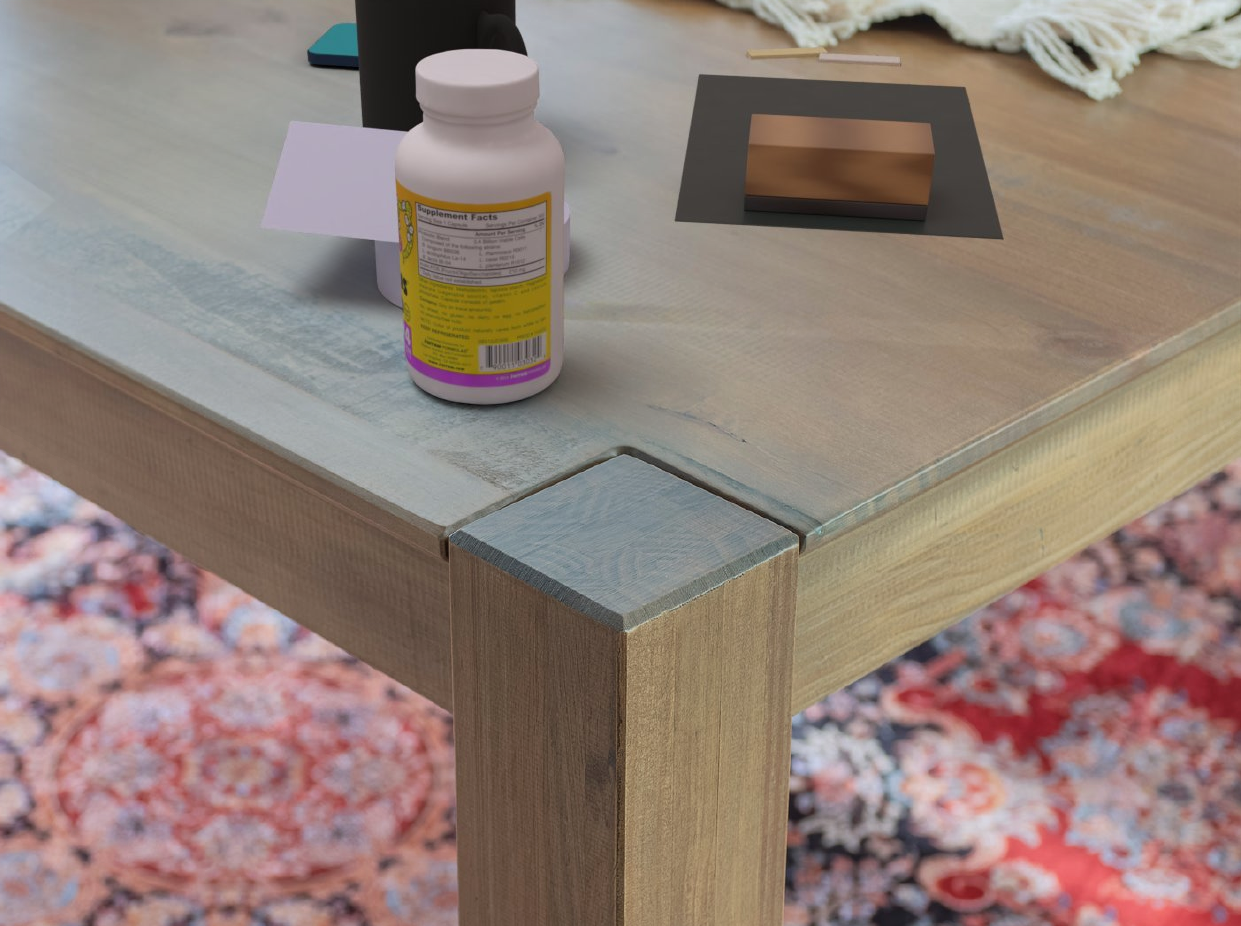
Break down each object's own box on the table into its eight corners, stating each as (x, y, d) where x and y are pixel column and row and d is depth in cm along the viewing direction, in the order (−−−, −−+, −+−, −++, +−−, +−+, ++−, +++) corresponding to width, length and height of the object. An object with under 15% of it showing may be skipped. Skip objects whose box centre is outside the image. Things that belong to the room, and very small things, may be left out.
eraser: (921, 188, 87) (930, 122, 85) (925, 221, 83) (935, 153, 81) (747, 178, 88) (751, 113, 86) (743, 211, 84) (748, 143, 82)
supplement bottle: (446, 330, 74) (436, 31, 67) (585, 356, 73) (591, 51, 65) (377, 393, 69) (358, 78, 62) (525, 423, 67) (524, 102, 60)
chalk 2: (897, 76, 106) (899, 56, 105) (898, 81, 105) (900, 62, 104) (817, 72, 106) (819, 52, 105) (817, 77, 105) (819, 58, 104)
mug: (462, 221, 85) (456, 8, 79) (335, 155, 92) (321, -44, 86) (590, 186, 89) (594, -18, 83) (458, 126, 97) (453, -66, 90)
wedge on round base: (267, 298, 77) (541, 330, 75) (252, 153, 73) (542, 182, 71) (335, 226, 84) (588, 253, 82) (325, 90, 80) (591, 115, 78)
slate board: (963, 103, 101) (965, 86, 101) (1000, 258, 82) (1004, 238, 81) (698, 90, 103) (699, 73, 102) (673, 239, 83) (674, 220, 83)
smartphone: (336, 19, 110) (560, 32, 108) (337, 32, 111) (560, 45, 109) (303, 53, 105) (539, 68, 103) (304, 66, 105) (539, 81, 103)
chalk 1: (826, 71, 106) (821, 65, 107) (828, 52, 105) (822, 46, 106) (750, 74, 105) (745, 69, 106) (751, 55, 105) (746, 49, 106)
